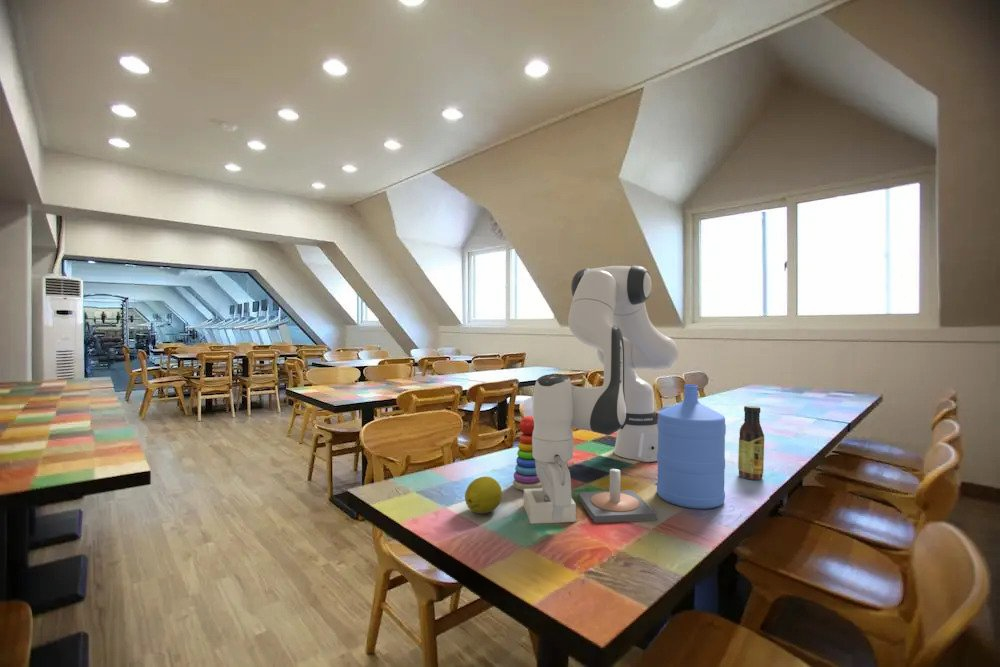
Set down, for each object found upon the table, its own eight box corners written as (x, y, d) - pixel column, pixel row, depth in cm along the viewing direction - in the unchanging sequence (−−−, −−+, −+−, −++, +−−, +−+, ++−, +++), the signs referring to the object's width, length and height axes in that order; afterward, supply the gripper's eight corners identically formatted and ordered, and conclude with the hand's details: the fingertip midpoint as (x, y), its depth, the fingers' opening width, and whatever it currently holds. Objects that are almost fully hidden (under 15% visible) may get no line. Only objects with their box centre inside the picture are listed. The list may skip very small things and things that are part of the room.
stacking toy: (541, 493, 119) (541, 420, 118) (510, 491, 120) (510, 419, 120) (544, 482, 126) (544, 414, 126) (515, 480, 128) (515, 413, 127)
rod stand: (632, 495, 117) (632, 460, 117) (656, 519, 103) (656, 479, 103) (577, 498, 116) (577, 462, 115) (594, 522, 102) (594, 482, 101)
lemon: (486, 501, 114) (486, 468, 114) (510, 509, 109) (510, 475, 108) (453, 515, 106) (453, 480, 105) (478, 525, 100) (478, 488, 100)
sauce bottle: (758, 482, 126) (759, 409, 126) (734, 476, 131) (735, 406, 130) (767, 477, 130) (768, 406, 130) (743, 471, 135) (744, 403, 135)
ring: (564, 503, 112) (564, 487, 112) (575, 521, 102) (575, 503, 102) (523, 505, 111) (523, 488, 111) (530, 523, 101) (530, 505, 101)
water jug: (712, 516, 105) (713, 392, 104) (646, 498, 115) (646, 385, 115) (733, 496, 116) (735, 385, 115) (671, 481, 127) (672, 379, 126)
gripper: (579, 463, 92) (579, 532, 92) (556, 437, 112) (556, 494, 113) (547, 464, 91) (547, 534, 92) (530, 438, 112) (530, 495, 112)
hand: (552, 511), depth 102 cm, fingers open, 8 cm apart
